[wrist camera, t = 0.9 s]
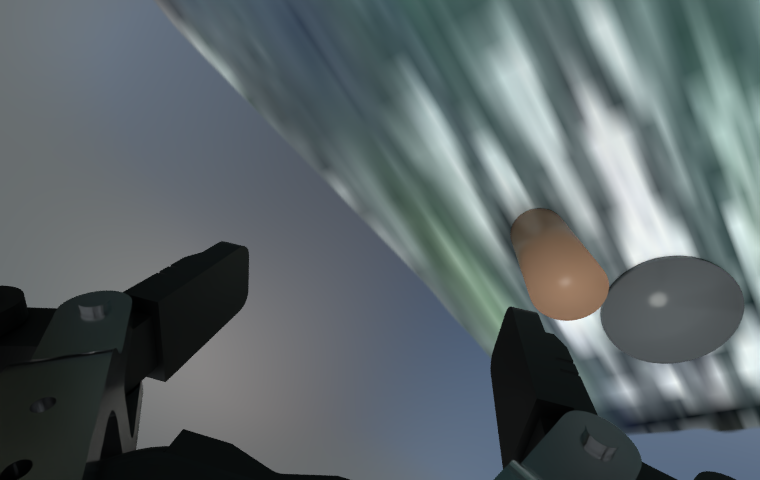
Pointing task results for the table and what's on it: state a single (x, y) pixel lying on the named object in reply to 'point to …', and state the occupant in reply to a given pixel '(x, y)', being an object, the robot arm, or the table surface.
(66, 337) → the robot arm
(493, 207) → the table surface
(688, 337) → the coaster
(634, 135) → the table surface
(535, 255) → the tan tapered cylinder
